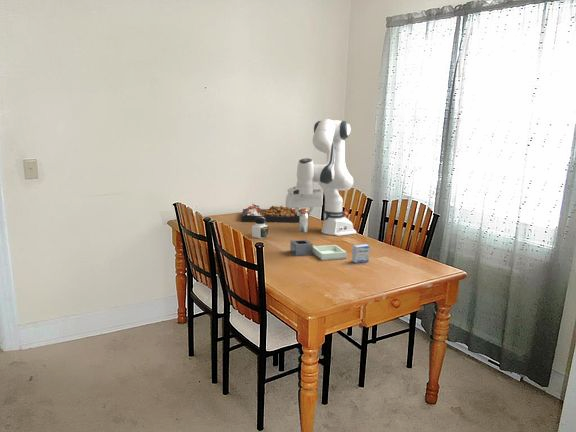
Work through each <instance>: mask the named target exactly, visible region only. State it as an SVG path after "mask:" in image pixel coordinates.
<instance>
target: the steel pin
mask: <svg viewBox="0 0 576 432" xmlns="http://www.w3.org/2000/svg"><path fill="white" fill-rule="evenodd" d="M299 210H300V213H301V216H300V223H298V224H299V232H301V233H307V232H308V228H309V227H308V226H309V225H308V224H309V215H308V212H309V209H308V208H306V207H303V208H299Z"/></svg>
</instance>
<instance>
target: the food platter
mask: <svg viewBox="0 0 576 432" xmlns="http://www.w3.org/2000/svg"><path fill="white" fill-rule="evenodd" d="M251 203H252V204H250V205H249V206H247V207H246V208H243V209H242V211H241V218H240V219H241V223H255V218H257V217H264V218H265V223H274V222H277V223H287V224H288V223H289V224H300V216H297V211H296V210H295V208H287V207H286V206H282V205H280V206H275V205H271V206H270V207H269V208H265V209H263V208H260V206H259V205H256V204H254V202H253V201H252V202H251ZM298 211H299V212H300V209H299V210H298Z"/></svg>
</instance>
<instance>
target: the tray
mask: <svg viewBox="0 0 576 432" xmlns="http://www.w3.org/2000/svg"><path fill="white" fill-rule="evenodd" d="M312 255H314V256H316V257H317V258H318V259H319V260H321V261H331V260H344V259H345V260H346V259H347V258H348V257H347V256H348V252H347V251H346V250H344V248H343V249H342V247H340V246H338V245H337V244H329V245H317V246H314V245H313V252H312Z"/></svg>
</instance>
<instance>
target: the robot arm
mask: <svg viewBox="0 0 576 432" xmlns="http://www.w3.org/2000/svg"><path fill="white" fill-rule="evenodd" d="M351 130H352V129H351V125H350V122H349V121H345V120H339V119H337V120H335V119H329V118H323V119H321V120H318V121H316V122H315V123H314V126H313V136H312V144H313V146H314V148H315V149H316V150H318V151H319V152H322V153H324V154H326V163H324V164H317V163H314V160H313V159H311V158H301V159H299V160H298V162H297V169H296V178H297V181H296V185H295V186H292V187H289V188H288V189H287V194H286V197H285V207H287V208H292V209H295V210H296V211H297V216H301V213H300V212H299V211H298V210H300V209H302V208H309V209H308V216H311V215H312V212H313V210H314V208H319V207H320V208H321V207H322V206H323V205H324V211H323V225H322V228H321V230H320V232H321V233H322V234H325V235H332V236H337V237H340V236H349V235H354V234H355V235H356V234H357V230H356V229H354V223H353V222H352V221H351V220H350V219H348V217H346V216H348V215H349V213H348V212H347V211H344V210H343V203H344V199H343V197H342V196H341V195H340V193H339V191H349V190H351V188H353V186H354V177H353V176H352V175H351V174H350V172H349V170H348V168H347V165H346V143H345V141H346V139H348V138H349V136H350V135H351ZM314 183H318V185H319V186H320V187H321V189H314ZM323 196H324V198H323ZM323 199H324V201H323ZM323 202H324V203H323Z"/></svg>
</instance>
